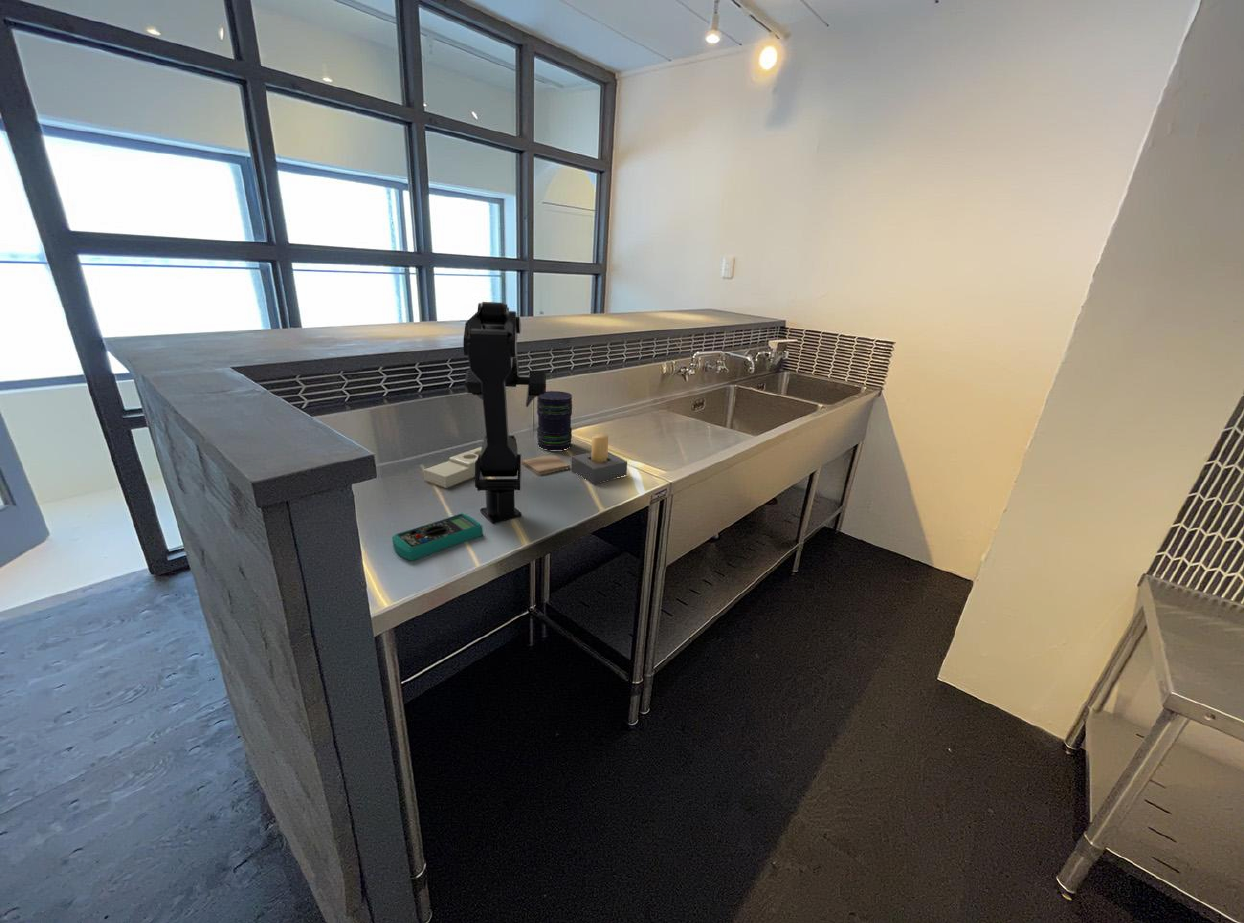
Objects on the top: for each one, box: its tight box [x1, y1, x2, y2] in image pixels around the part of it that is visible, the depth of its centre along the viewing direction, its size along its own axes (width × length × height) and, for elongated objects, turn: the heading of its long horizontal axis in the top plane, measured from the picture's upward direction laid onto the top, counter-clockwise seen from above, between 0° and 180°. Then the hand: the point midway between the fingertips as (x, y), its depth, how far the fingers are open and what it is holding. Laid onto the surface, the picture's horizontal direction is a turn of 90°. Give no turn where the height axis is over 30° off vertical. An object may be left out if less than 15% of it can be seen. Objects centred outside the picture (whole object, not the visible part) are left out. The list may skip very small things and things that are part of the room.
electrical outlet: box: [423, 446, 482, 489], centre depth 123 cm, size 7×4×18 cm
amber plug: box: [590, 433, 609, 463], centre depth 125 cm, size 4×4×10 cm
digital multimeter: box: [391, 512, 484, 562], centre depth 93 cm, size 7×15×3 cm, turn 136°
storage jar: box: [536, 390, 573, 450], centre depth 143 cm, size 10×10×15 cm
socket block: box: [570, 451, 628, 485], centre depth 127 cm, size 10×10×4 cm
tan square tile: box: [521, 454, 571, 476], centre depth 130 cm, size 9×9×1 cm
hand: (508, 405), depth 128 cm, fingers open, 9 cm apart
